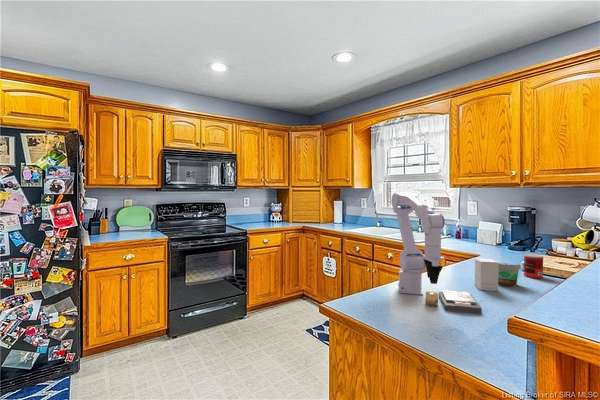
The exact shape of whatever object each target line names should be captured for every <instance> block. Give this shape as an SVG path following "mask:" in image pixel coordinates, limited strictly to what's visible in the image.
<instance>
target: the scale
mask: <svg viewBox="0 0 600 400" xmlns="http://www.w3.org/2000/svg"><path fill="white" fill-rule="evenodd" d="M470 295H471V296H472V297H473V299H474V300H475V301H476V304H474V303H467V302H452V301H446V299H445V297H444V295H443V293H442V291H438V299H439V301H440V302H441V305H442V307H443V309H444V311H449V312H450V311H451V312H459V313H467V314H468V313H470V314H480V315H482V313H483V308H482V307H481V305H480V304H479V302H477V300H476V299H475V298H474V296H473V295H472V294H471V293H470Z"/></svg>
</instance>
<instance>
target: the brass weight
mask: <svg viewBox="0 0 600 400" xmlns="http://www.w3.org/2000/svg"><path fill="white" fill-rule="evenodd" d="M425 305H426V306H427V307H430V308H436V307H438V306H439V292H436V291H432V290H431V291H430V290H429V291H426V292H425Z"/></svg>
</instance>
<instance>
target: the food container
mask: <svg viewBox="0 0 600 400" xmlns="http://www.w3.org/2000/svg"><path fill="white" fill-rule="evenodd" d="M521 269H522V268H521V264H510V263H506V262H502V263H499V269H498V286H502V287H508V288H509V287H510V288H511V287H516V286H517V283H518V279H519V278H518V277H519V271H520V270H521Z"/></svg>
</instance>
